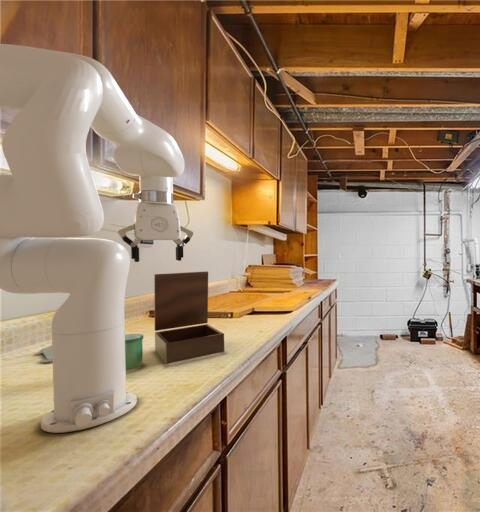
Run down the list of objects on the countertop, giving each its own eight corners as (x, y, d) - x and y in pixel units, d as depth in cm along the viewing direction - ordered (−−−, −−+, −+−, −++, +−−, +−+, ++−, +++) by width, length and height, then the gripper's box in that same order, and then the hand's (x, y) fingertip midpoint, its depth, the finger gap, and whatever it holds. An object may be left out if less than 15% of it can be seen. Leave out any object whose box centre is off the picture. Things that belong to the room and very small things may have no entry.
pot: (145, 369, 77) (145, 337, 77) (111, 376, 73) (110, 342, 73) (141, 362, 82) (141, 332, 82) (109, 369, 77) (108, 336, 77)
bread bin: (224, 354, 88) (224, 333, 88) (166, 366, 79) (166, 344, 79) (207, 342, 99) (207, 324, 99) (155, 352, 90) (154, 332, 90)
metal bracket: (96, 323, 100) (108, 330, 91) (103, 339, 101) (116, 348, 92) (32, 346, 89) (38, 357, 80) (41, 364, 90) (48, 377, 81)
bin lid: (208, 271, 98) (207, 271, 98) (154, 274, 88) (154, 273, 89) (207, 323, 99) (206, 322, 100) (155, 331, 89) (154, 330, 90)
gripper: (117, 194, 78) (119, 263, 79) (196, 201, 90) (197, 260, 91) (114, 197, 83) (116, 261, 84) (188, 203, 96) (190, 259, 96)
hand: (158, 261), depth 88 cm, fingers open, 9 cm apart
